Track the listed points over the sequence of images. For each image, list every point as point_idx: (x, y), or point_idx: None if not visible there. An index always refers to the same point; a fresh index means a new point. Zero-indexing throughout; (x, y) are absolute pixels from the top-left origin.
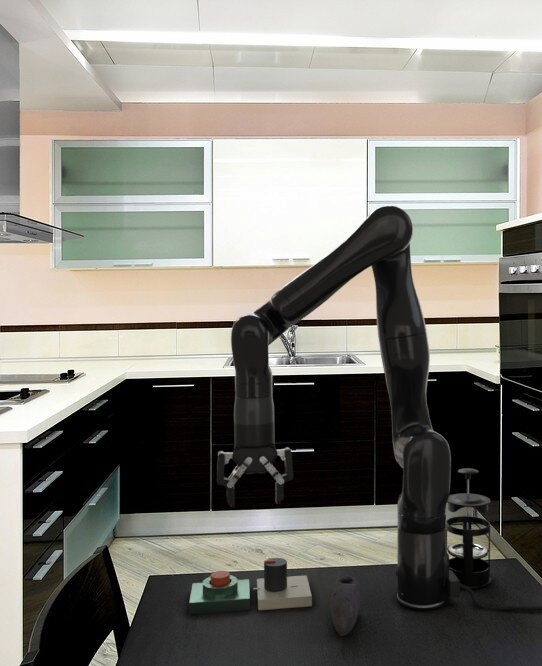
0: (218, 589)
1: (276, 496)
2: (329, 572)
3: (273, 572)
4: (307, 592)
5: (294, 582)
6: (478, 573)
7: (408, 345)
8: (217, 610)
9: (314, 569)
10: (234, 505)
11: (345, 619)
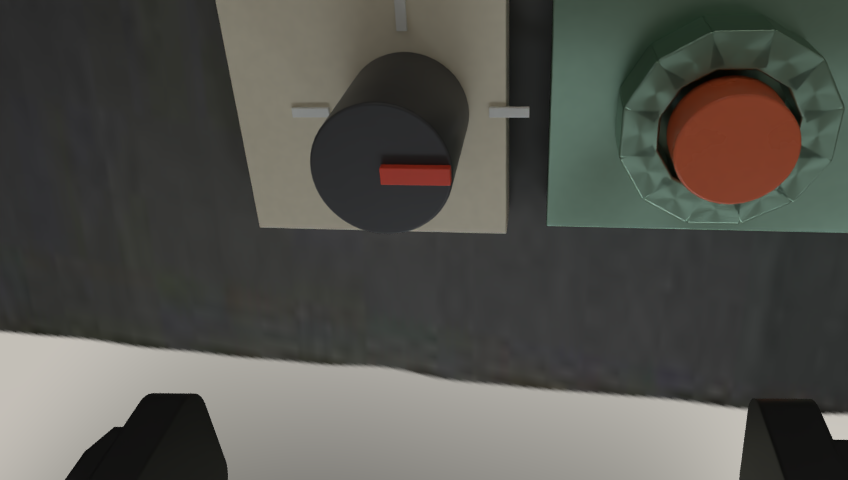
0: (751, 27)
1: (162, 476)
2: (187, 307)
3: (398, 89)
4: (236, 21)
5: None
6: None
7: None
8: None
9: (253, 346)
10: (764, 408)
11: None
